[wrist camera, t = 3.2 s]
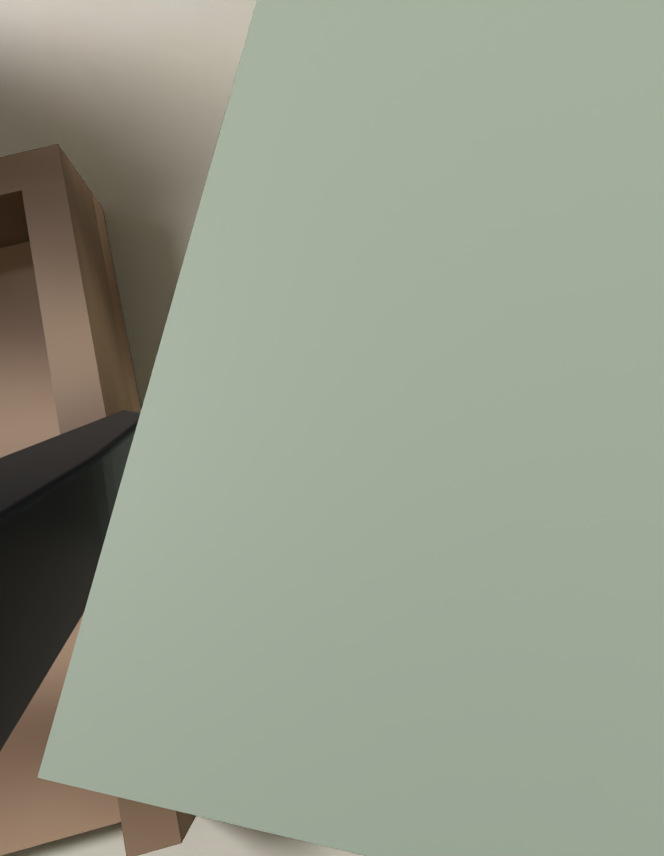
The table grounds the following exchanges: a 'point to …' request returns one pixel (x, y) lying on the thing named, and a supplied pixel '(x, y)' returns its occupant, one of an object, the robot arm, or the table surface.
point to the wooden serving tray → (46, 418)
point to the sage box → (403, 449)
